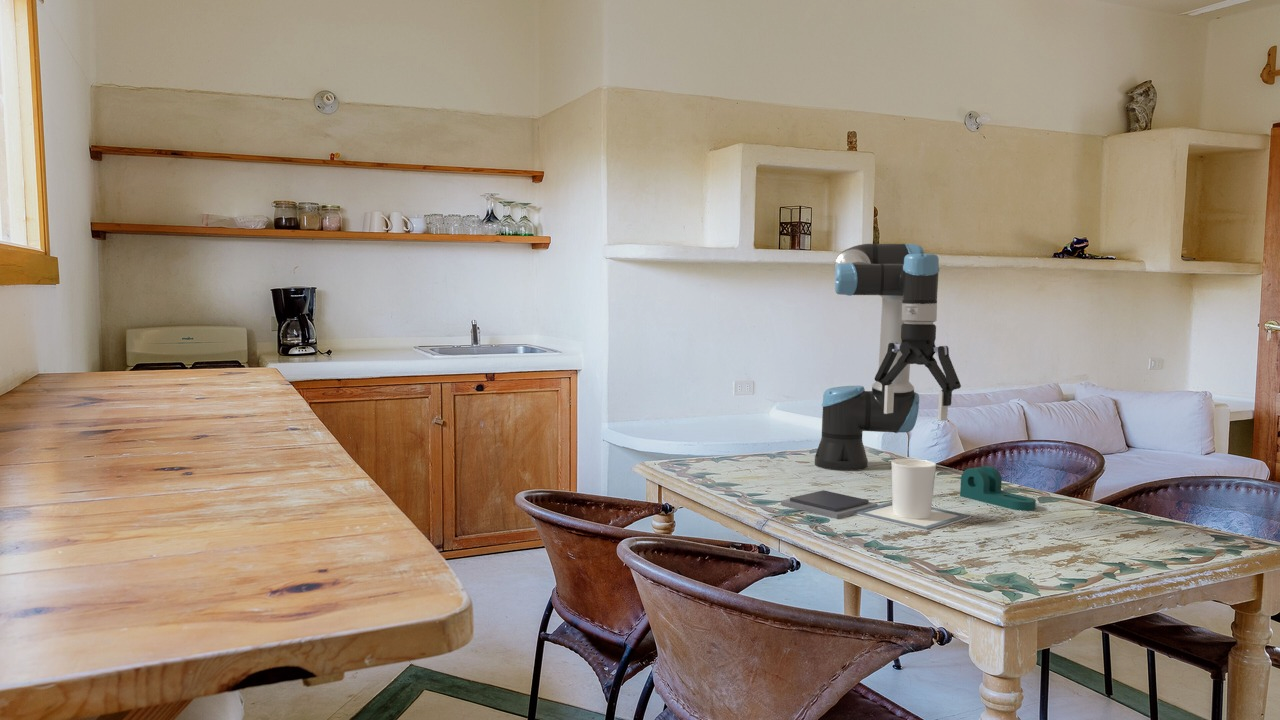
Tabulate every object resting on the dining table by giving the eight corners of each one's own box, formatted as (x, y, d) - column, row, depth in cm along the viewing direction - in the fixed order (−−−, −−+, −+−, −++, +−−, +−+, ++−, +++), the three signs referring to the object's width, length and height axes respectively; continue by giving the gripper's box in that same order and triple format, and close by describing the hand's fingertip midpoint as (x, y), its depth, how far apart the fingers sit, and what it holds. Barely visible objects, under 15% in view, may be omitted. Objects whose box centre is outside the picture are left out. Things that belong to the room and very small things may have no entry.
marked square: (897, 501, 215) (897, 499, 215) (971, 517, 201) (971, 515, 201) (852, 513, 203) (852, 511, 203) (927, 531, 189) (927, 529, 189)
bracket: (960, 496, 223) (961, 466, 222) (977, 494, 226) (979, 463, 225) (1023, 512, 207) (1025, 479, 207) (1041, 509, 211) (1043, 477, 210)
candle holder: (928, 510, 206) (930, 459, 205) (938, 521, 197) (941, 467, 196) (885, 508, 207) (887, 457, 206) (893, 519, 197) (895, 466, 197)
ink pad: (821, 495, 220) (822, 488, 220) (877, 507, 209) (877, 500, 208) (780, 505, 210) (780, 497, 210) (836, 518, 198) (837, 510, 198)
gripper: (861, 320, 206) (858, 411, 207) (962, 325, 187) (957, 425, 189) (879, 320, 211) (876, 409, 213) (979, 325, 192) (975, 421, 194)
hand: (914, 416), depth 201 cm, fingers open, 13 cm apart
